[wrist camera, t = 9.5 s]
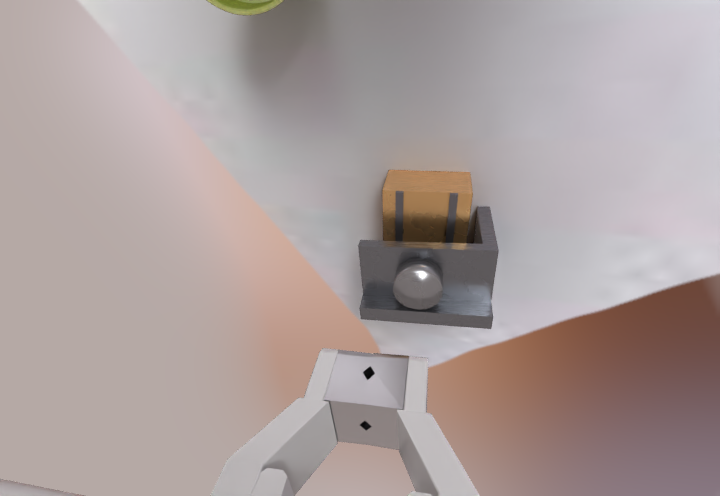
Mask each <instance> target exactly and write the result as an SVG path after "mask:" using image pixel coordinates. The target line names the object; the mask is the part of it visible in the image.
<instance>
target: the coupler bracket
mask: <svg viewBox="0 0 720 496" xmlns="http://www.w3.org/2000/svg"><path fill="white" fill-rule="evenodd" d="M358 247H359V257H360V266H361V276H362V286H363V297H362V301H361V305H360V315H361V319H367V320H380V321H393V322H407V323H420V324H433V325H447V326H460V327H473V328H487V329H491V327H492V321H493V313H492V306H491V298H492V291H493V284H494V278H495V271H496V264H497V257H498V246H497V241H496V236H495V231H494V226H493V221H492V216H491V211H490V207H477V216H476V226H475V235H474V244H468V243H437V242H406V241H374V240H360V243H359V246H358Z"/></svg>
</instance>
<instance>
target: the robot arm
mask: <svg viewBox="0 0 720 496" xmlns="http://www.w3.org/2000/svg"><path fill="white" fill-rule="evenodd" d="M427 382H428V358H423V357H411V356H404V355H391V354H378V353H374V354H370V353H362V352H354V351H345V350H336V349H326V348H323V349H322V350H321V351H320V353H319V355H318V358H317V361H316V364H315V367H314V370H313V372H312V375H311V378H310V381H309V384H308V387H307V390H306V392H305V395H304V398H297V400H295V401H294V402H293V403H292V404H291V405H289V406H288V407H287V408H286V409H285V410H284V411H282V413H280V414H279V415H278V416H277V417H276V418H274V419H273V420H272V421H271V422H270V423H269V424H267V426H265V427H264V428H263V429H262V430H261V431H259V432H258V433H257V434H256V435H255V436H254V437H253V438H251V439H250V440H249V441H248V442H247V443H246V444H244V445H243V446H242V447H241V448H240V449H239V450H238V451H236V452H235V453H234V454H233V455H232V456H231V457H229V458H228V459H227V461H226V464H225V466H224V468H223V470H222V472H221V474H220V476H219V478H218V481H217V483H216V485H215V487H214V489H213V491H212V493H211V495H210V496H295V494H296V493H297V492H298V491H299V490H300V488H301V487H302V486H303V485H304V484H305V482H306V481H307V480H308V479H309V478H310V476H311V475H312V474H313V473H314V471H315V470H316V469H317V468H318V467H319V465H320V464H321V463H322V462H323V461H324V459H325V458H326V457H327V455H329V453H330V452H331V451H332V450H333V449H334V447H335V446H336V445H337V441H339V442H348V443H357V444H366V445H372V446H378V447H384V448H390V449H396V450H399V452H400V455H401V457H402V460H403V462H404V464H405V467H406V469H407V471H408V474H409V476H410V479H411V481H412V483H413V486H414V488H415V491H416V492H414V491H412V492H411V493H410V494H408V495H407V496H480V495H479V494H478V492H477V490H476V488H475V487H474V485H473V483H472V482H471V480H470V478H469V477H468V475H467V473H466V472H465V470H464V468H463V466H462V465H461V463H460V461H459V460H458V458H457V456H456V455H455V453H454V451H453V450H452V448H451V446H450V444H449V443H448V441H447V440H446V438H445V436H444V434H443V433H442V431H441V429H440V427H439V426H438V424H437V422H436V421H435V419H434V417H433V416H432V414H430V413H427V385H428V384H427ZM0 496H84V495H79V494H74V493H69V492H63V491H59V490H54V489H49V488H44V487H39V486H34V485H29V484H23V483H18V482H13V481H8V480H3V479H0Z"/></svg>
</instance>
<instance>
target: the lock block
mask: <svg viewBox="0 0 720 496" xmlns="http://www.w3.org/2000/svg"><path fill="white" fill-rule="evenodd" d="M382 194H383V241H406V242H437V243H466V241H467V233H468V226H469V218H470V211H471V203H472V195H473V192H472V184H471V176H470V172H446V171H408V170H389V171H388V174H387V177H386V181H385V184H384V187H383V190H382Z"/></svg>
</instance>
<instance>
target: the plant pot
mask: <svg viewBox="0 0 720 496" xmlns="http://www.w3.org/2000/svg"><path fill="white" fill-rule="evenodd" d="M207 1H208V2H209V3H211V4H212V5H214V6H216V7H218V8H220V9H222V10H224V11H226V12H229V13H232V14H237V15H257V14H261V13H264V12H267V11H269V10H271V9H273V8H275V7H277V6H278V5H279V4H281V3H282V2H283V1H284V0H207Z"/></svg>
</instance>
